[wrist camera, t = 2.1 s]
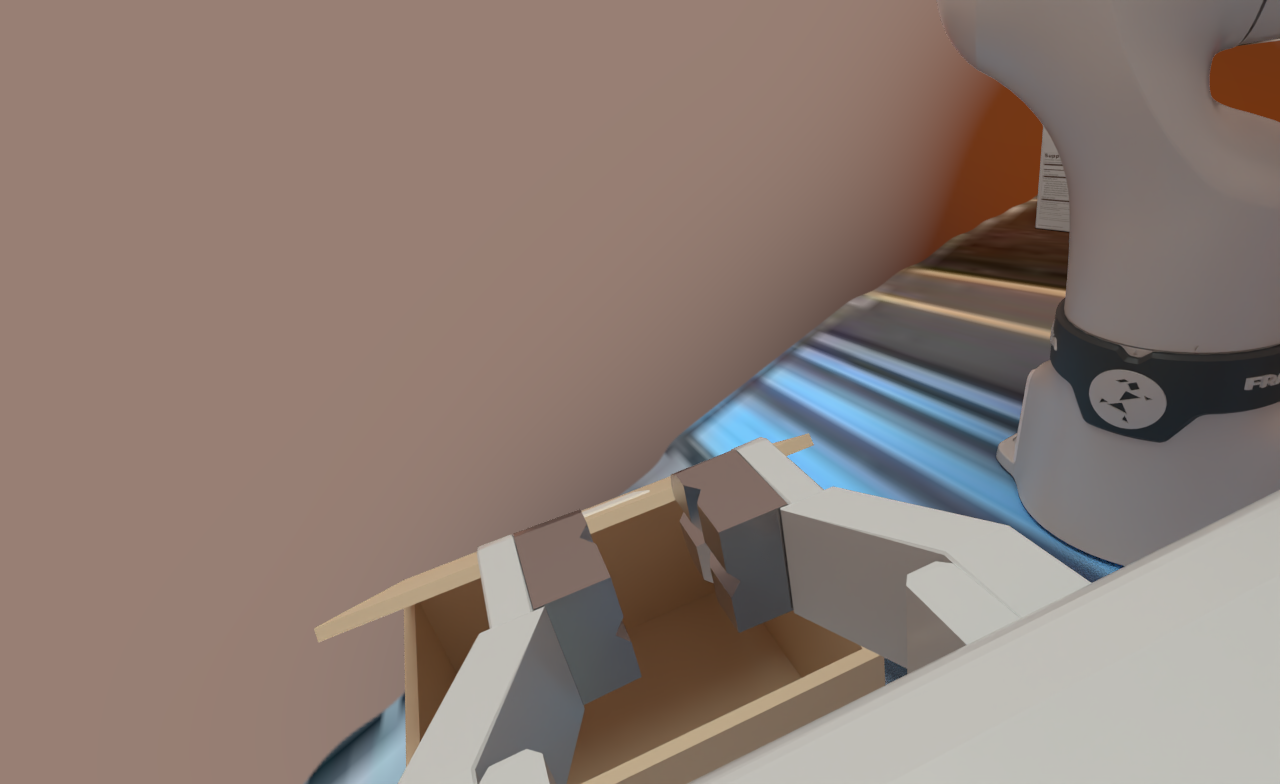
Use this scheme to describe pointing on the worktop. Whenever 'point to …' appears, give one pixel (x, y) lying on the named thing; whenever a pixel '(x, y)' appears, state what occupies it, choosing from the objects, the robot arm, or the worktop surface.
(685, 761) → the carton
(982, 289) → the worktop surface
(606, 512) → the carton flap
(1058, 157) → the supplement box
